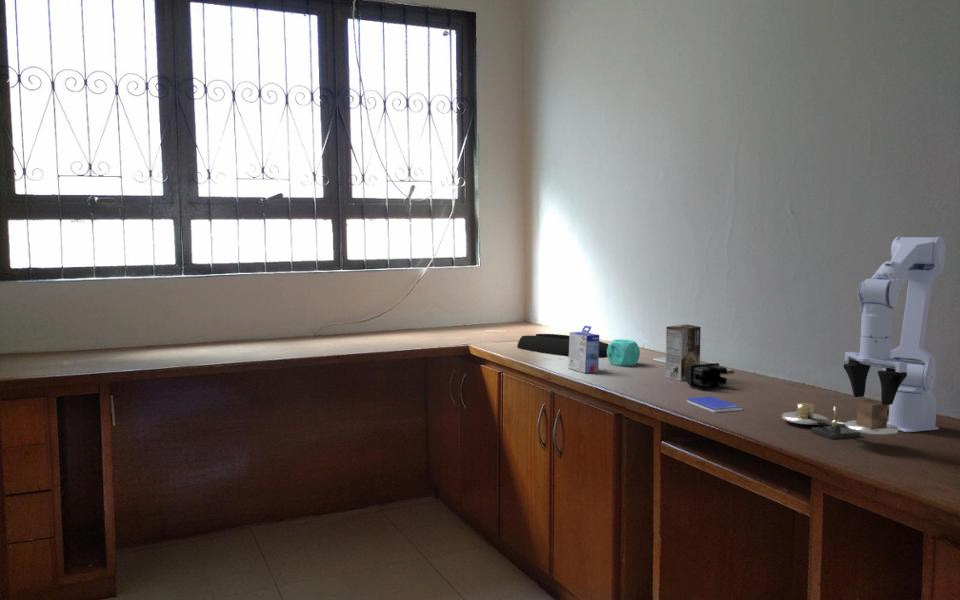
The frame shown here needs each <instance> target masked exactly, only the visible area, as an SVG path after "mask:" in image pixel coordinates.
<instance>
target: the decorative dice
mask: <svg viewBox="0 0 960 600" xmlns="http://www.w3.org/2000/svg"><path fill="white" fill-rule="evenodd" d="M608 344H609V346H608V348H607V360H608V361H609V363H610V364H611V365H613V366H617V367H633V366H635V365H636V364H637V363H638V361H639V360H640V355H641V350H640V346H639V344H638V343H637V342H636V341H635V340H632V339H622V338H620V339H612V340H611V342H610V343H608Z"/></svg>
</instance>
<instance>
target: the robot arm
mask: <svg viewBox="0 0 960 600" xmlns="http://www.w3.org/2000/svg"><path fill="white" fill-rule="evenodd" d="M890 247H891V248H890V256H891V259H890V260H886V261H885V262H883V263H882V264H881V265H880V266H879V268H877V270H876V272H875V273H874V274H873V275H872V276H871V278H866V279H865V280H862V281H861V282H860V284H859V286H858V291H857V300H858V303H859V314H861V320H860V321H861V325H860V326H861V327H860V342H859V343H860V344H859V345H860V346H859V352H855V351H845V352H844V361H845V362H847V363H844V364H843V369H844V371H845V372H846V374H847V375H848V376H847V377H848V379H849V382H850V385H851V390H852V394H853V397H854V398H863V397H865V393H866V387H867V386H866V384H867V378H868V374H869V372H870V369H871V367H876V368H880V369H882V370H878V371H877V375H878V377H879V380H880V381H879V382H880V387H881V388H880V389H881V395H880V396H881V399H880V400H881V402H882V404H883V405H888V406H889V407H888V420H887V423H888V424H891V425H894V426H896V427H897V428H898V431H901V432H904V433H913V432H914V433H915V432H925V431H936V430H939V427H938V426H936V422H937V421H936V418H937V404H938V403H937V398H936V396H935V394H934V393H933V392H932V390H933V388H934V387H935V384H936V378H937V370H936V364H937V362H936V359H935V356H933V355H932V354H931V353H929V351H927V350H926V349H925V348H924V346H925V339H926V332H927V325H928V318H929V308H930V303H931V302H930V301H931V294H932V287H933V284H934V280H935V278H936V277H939V276H941V275H942V274H943V270H944V267H945V260H946V243H945V240H944V239H943V238H942V236H935V237H933V236H932V237H927V236H925V237H923V236H922V237H921V236H920V237H919V236H918V237H917V236H915V237H913V236H910V237H908V236H907V237H904V236H896V237H895V238H894V239H893V240H892V243H891V246H890ZM907 279H908V286H907V292H906V300H905V305H904V307H905V308H904V313H903V322H902V329H901V334H900V335H901V336H900V342H899V343H900V344H899V346H898V347H896V348H894V349H892V337H893V336H892V333H893V317H894V316H893V314H894V313H893V312H894V308H895V307H896V306H897V304H898V301H899V297H900V294H901V288H902V286H903V285H904V284H905V282H906V281H907Z"/></svg>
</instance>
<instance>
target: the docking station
mask: <svg viewBox="0 0 960 600" xmlns="http://www.w3.org/2000/svg"><path fill="white" fill-rule="evenodd" d="M569 339H570V334H569V335H566V334H555V333H536V334H535V335H522V336H521V337H520V338H519V340H518V342H517V344H516V345H517V346H516V347H517V349H521V350H525V351H529V352H535V353H540V354H547V355H555V356H560V357H561V356H563V357H569ZM609 344H610V343H607V342H604V341H600V340H599V358H605V357H607V348H608V346H609ZM607 358H608V357H607Z"/></svg>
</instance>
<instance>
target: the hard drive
mask: <svg viewBox="0 0 960 600" xmlns="http://www.w3.org/2000/svg"><path fill="white" fill-rule="evenodd" d="M686 402H687V403H689V404H690V405H694V406H697V407H699V408H702V409H704V410H707V411H709V412H712V413H714V412H715V413H723V412H725V413H726V412H738V411H741V412H742V411H743V406H740V405H737V404H734V403H731V402H728V401H725V400H723V399H720V398H717V397H714V396H703V397H702V396H701V397H700V396H699V397H688V398H687V399H686Z"/></svg>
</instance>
